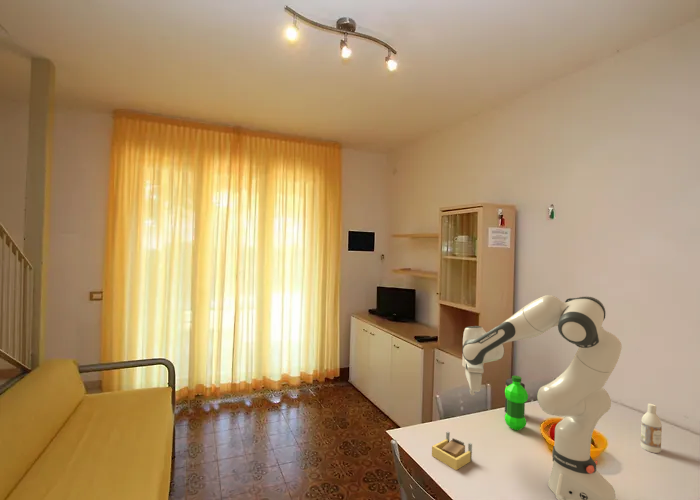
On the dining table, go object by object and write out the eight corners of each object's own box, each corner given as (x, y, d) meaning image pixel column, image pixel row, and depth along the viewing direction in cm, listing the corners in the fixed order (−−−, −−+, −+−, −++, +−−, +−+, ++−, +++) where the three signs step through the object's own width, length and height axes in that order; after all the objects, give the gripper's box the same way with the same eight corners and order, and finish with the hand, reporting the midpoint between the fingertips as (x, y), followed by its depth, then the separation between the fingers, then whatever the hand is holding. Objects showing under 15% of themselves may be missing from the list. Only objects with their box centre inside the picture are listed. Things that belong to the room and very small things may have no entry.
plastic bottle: (530, 433, 169) (532, 381, 169) (508, 432, 169) (510, 380, 169) (521, 422, 179) (522, 373, 179) (500, 422, 179) (501, 373, 179)
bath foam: (650, 453, 155) (651, 408, 154) (636, 444, 161) (637, 401, 161) (665, 453, 155) (666, 408, 155) (651, 444, 162) (652, 401, 162)
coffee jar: (527, 418, 184) (528, 383, 183) (513, 419, 182) (514, 383, 182) (515, 410, 193) (516, 376, 193) (501, 411, 192) (503, 377, 192)
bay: (471, 460, 145) (472, 443, 145) (456, 470, 139) (456, 452, 139) (447, 447, 155) (447, 431, 155) (431, 455, 148) (432, 439, 148)
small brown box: (464, 455, 149) (465, 443, 149) (455, 465, 142) (455, 451, 142) (451, 450, 153) (451, 437, 153) (441, 458, 146) (441, 445, 146)
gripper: (462, 355, 166) (461, 384, 166) (468, 369, 146) (467, 402, 146) (476, 356, 165) (475, 386, 165) (484, 370, 145) (483, 404, 145)
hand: (472, 394), depth 155 cm, fingers closed
